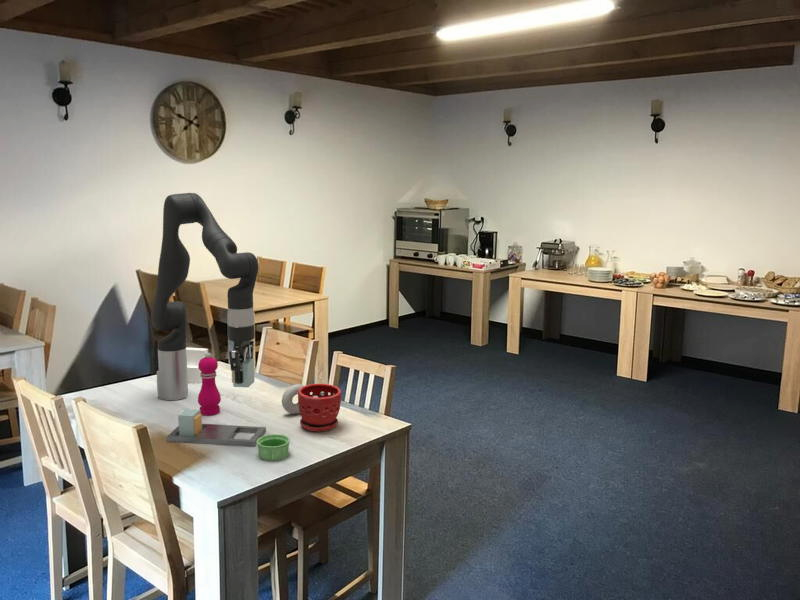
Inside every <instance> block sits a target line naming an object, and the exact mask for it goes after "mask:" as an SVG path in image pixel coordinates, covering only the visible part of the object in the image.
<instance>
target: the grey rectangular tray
mask: <svg viewBox="0 0 800 600" xmlns="http://www.w3.org/2000/svg"><path fill="white" fill-rule="evenodd" d="M266 432H267V427H266V426H248V425H232V424H230V425H229V424H214V423H202V430H201V432H200V433H199V434H198V435H197V436H180V435H179V425H178V426H177V427H175V429H173V430H172V431H171V432H170V433H169V434H167V436H166V442H170V441H176V442H175V443H189V444H190V443H192V444H205V445H208V444H209V445H221V446H222V445H223V446H236V445H237V447H239V446H240V447H253V448H254V447H255V446H256V445H257V440H258V439H259V438H260V437H262V436H265V435H266ZM236 433H237V434H238V433H249V434H250V433H252V434H253V435H252V436H251V437H250V438H249V439H246V438H245V439H244V438H234V437H235V436H236V435H237V434H236Z"/></svg>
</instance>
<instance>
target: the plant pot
mask: <svg viewBox="0 0 800 600" xmlns="http://www.w3.org/2000/svg"><path fill="white" fill-rule="evenodd" d="M321 393H324V394H323V395H322V394H321ZM329 394H330V395H329ZM341 402H342V390H341V388H339V387H338V386H336V385H332V384H328V383H312V384H307V385H304V387H302V388H300V389H299V391H298V394H297V403H298V406H299V411H300V413H299V414H300V416H301V419H300V420H299V423H300V426H301V427H302V428H303V429H305V430H307V431H311V432H315V431H316V432H319V433H321V431H322V432H327V431H330V430H333V429H334V428H335V427H336V426H337V425H338V423H339V420H338V418H337V417H338V415H339V413H340V409H341ZM316 432H315V433H316Z"/></svg>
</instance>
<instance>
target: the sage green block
mask: <svg viewBox="0 0 800 600" xmlns="http://www.w3.org/2000/svg"><path fill="white" fill-rule="evenodd" d="M202 416H203V415H202V414H201V413H200V409H196V408H192V409H191V408H186V409H184V410H183V411H182V412H180V414H178V416H177V417H178V418H177V420H178V426H179V435H180V436H197V435H198V434H199V433H200V432H201V431H202V424H203V422H202V421H203V418H202Z"/></svg>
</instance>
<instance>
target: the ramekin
mask: <svg viewBox="0 0 800 600" xmlns="http://www.w3.org/2000/svg"><path fill="white" fill-rule="evenodd" d="M290 441H291V438H290V436H287V435H285V434H278V433H276V434H275V433H273V434H271V433H270V434H264V435H263V436H262V437H260V438H259V439H258V440H257V444H256V445H257V451H258V452H257V453H258V457H259V458H261V459H262V460H263V461H264V460H265V461H269V460H274V461H279V459H280V460H283V459H285V458H287V456H288V455H289V449H290V448H289V447H290V443H291V442H290ZM284 457H285V458H284ZM282 458H283V459H282Z"/></svg>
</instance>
